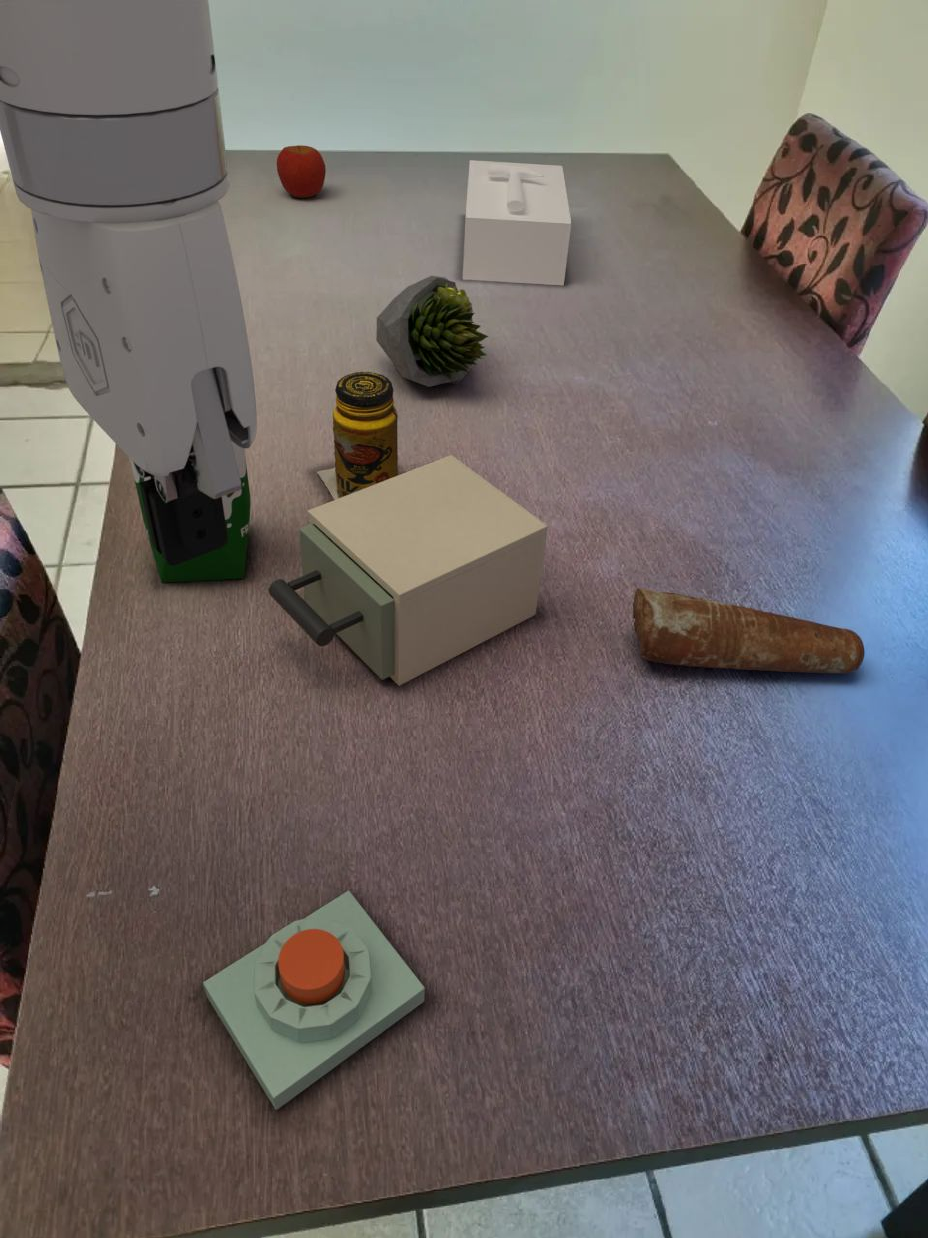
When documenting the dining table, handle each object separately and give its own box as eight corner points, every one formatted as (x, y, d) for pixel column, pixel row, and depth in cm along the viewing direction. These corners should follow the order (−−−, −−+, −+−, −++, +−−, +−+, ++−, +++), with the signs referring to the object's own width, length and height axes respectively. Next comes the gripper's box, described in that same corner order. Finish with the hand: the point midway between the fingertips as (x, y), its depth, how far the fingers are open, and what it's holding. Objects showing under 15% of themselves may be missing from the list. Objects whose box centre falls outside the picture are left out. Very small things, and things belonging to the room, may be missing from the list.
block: (276, 1111, 51) (270, 1084, 48) (206, 996, 55) (198, 967, 53) (424, 1001, 55) (426, 973, 53) (349, 904, 60) (347, 874, 58)
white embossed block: (555, 222, 152) (563, 149, 145) (563, 285, 134) (573, 206, 126) (466, 216, 152) (470, 144, 145) (462, 279, 133) (466, 199, 126)
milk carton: (159, 529, 88) (117, 326, 74) (258, 525, 89) (234, 324, 75) (149, 590, 81) (100, 380, 68) (255, 585, 82) (229, 377, 69)
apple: (306, 206, 152) (303, 155, 146) (268, 196, 154) (264, 144, 149) (335, 194, 157) (333, 143, 151) (298, 184, 159) (295, 134, 154)
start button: (302, 1017, 51) (300, 1002, 50) (268, 967, 53) (265, 952, 52) (357, 979, 53) (356, 964, 52) (322, 932, 55) (321, 917, 54)
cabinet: (398, 686, 74) (399, 594, 68) (313, 600, 81) (307, 510, 75) (536, 614, 81) (548, 525, 75) (447, 541, 88) (451, 454, 82)
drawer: (335, 704, 71) (330, 629, 66) (260, 621, 78) (250, 547, 72) (512, 613, 80) (520, 540, 75) (431, 545, 86) (434, 474, 81)
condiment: (346, 518, 90) (341, 407, 82) (316, 472, 96) (309, 364, 88) (415, 502, 93) (418, 393, 85) (382, 458, 98) (381, 352, 90)
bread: (625, 623, 81) (636, 573, 77) (848, 648, 80) (870, 599, 76) (626, 675, 76) (638, 624, 73) (863, 702, 75) (888, 653, 72)
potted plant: (461, 313, 117) (540, 327, 106) (408, 400, 117) (481, 422, 106) (398, 248, 109) (476, 255, 98) (340, 341, 109) (411, 359, 98)
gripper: (-57, 106, 36) (57, 500, 48) (101, 231, 28) (191, 667, 40) (129, 84, 40) (192, 455, 52) (318, 188, 31) (339, 600, 44)
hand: (191, 547), depth 46 cm, fingers closed
